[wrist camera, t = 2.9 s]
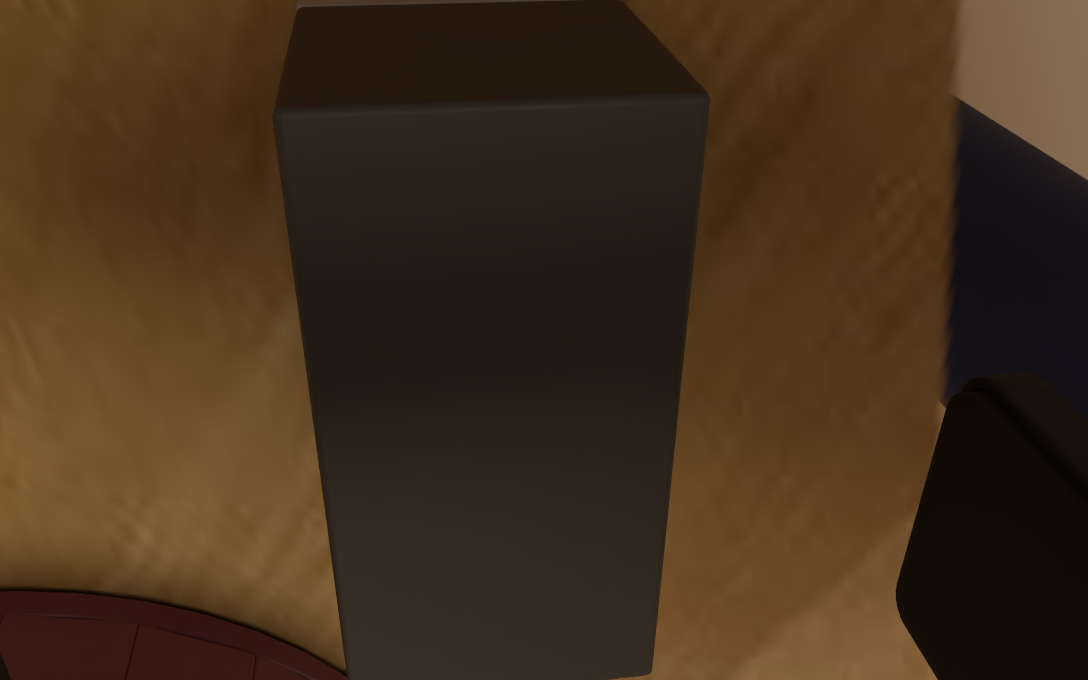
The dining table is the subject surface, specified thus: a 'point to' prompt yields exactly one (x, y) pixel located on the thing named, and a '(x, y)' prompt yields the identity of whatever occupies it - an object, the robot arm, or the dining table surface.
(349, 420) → the eraser
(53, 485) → the dining table surface
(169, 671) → the bowl
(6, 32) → the dining table surface
